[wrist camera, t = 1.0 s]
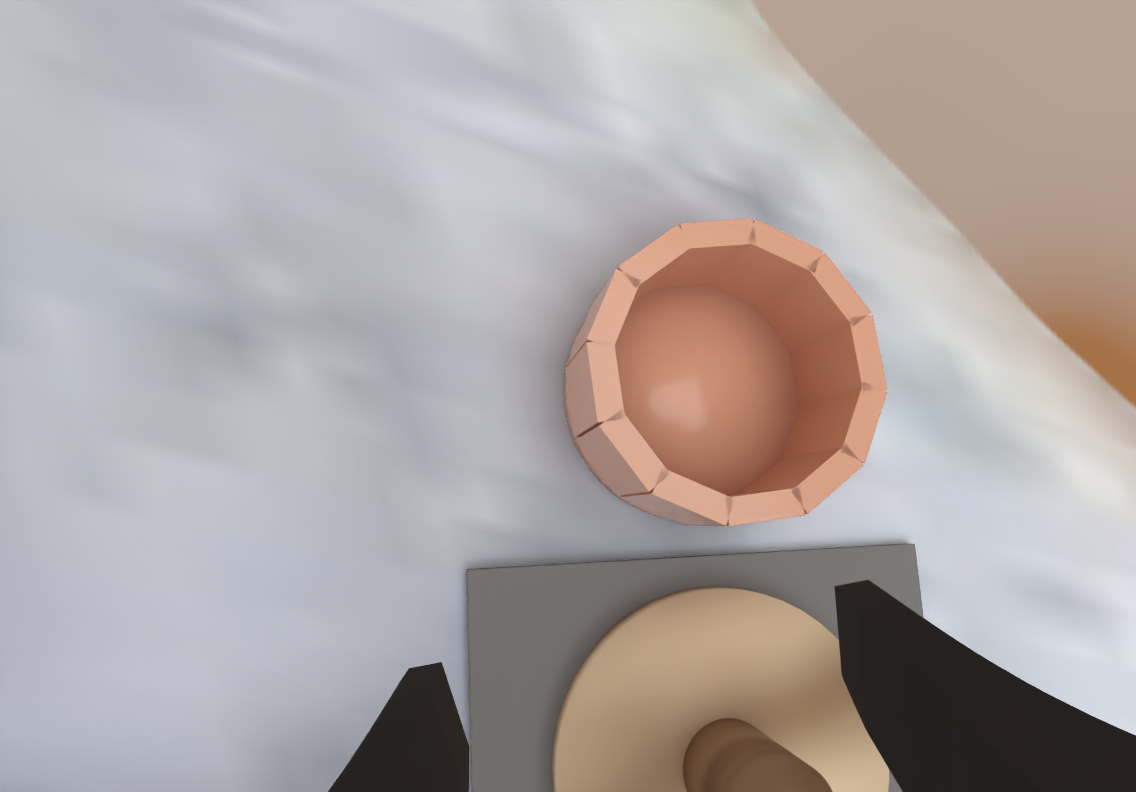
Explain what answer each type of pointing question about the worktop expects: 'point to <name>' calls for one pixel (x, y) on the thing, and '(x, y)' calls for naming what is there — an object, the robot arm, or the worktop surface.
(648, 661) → the lid
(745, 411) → the bowl
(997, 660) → the worktop surface
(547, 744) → the mat
